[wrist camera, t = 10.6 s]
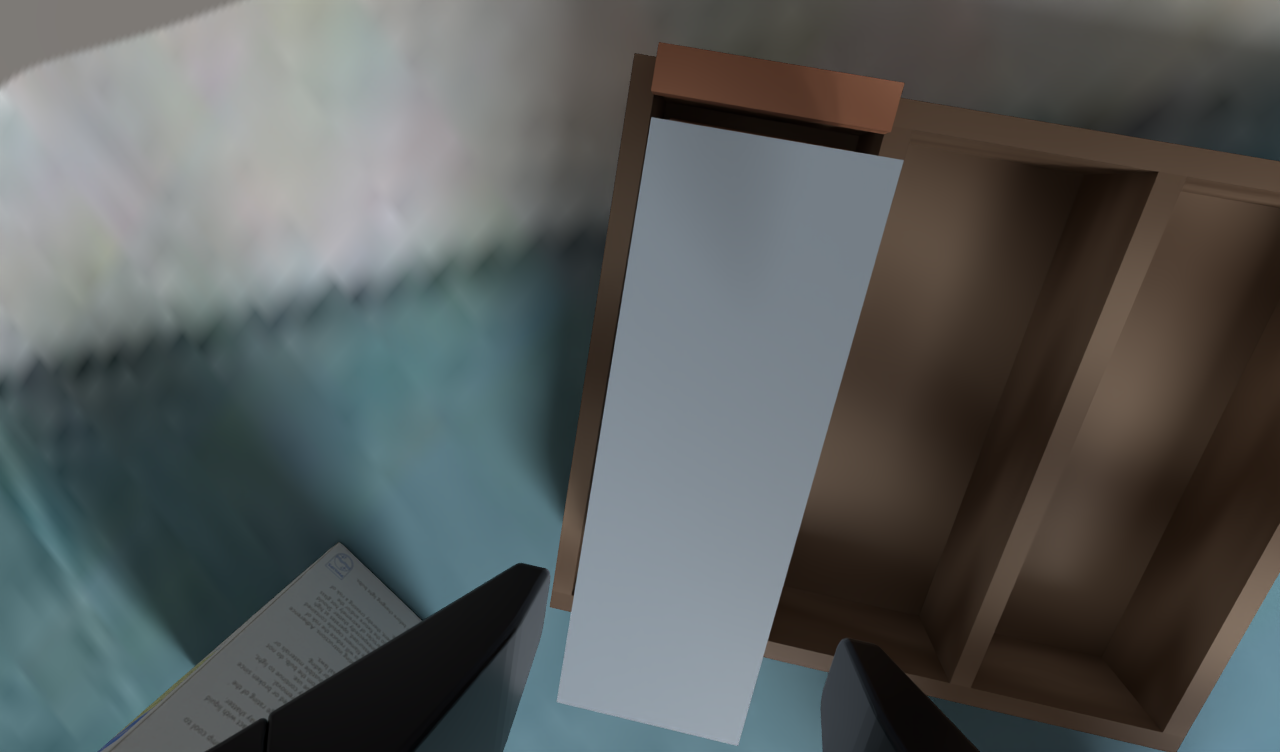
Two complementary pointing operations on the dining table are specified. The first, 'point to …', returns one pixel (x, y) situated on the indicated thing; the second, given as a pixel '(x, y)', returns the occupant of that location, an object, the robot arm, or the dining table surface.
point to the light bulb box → (273, 657)
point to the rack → (1013, 401)
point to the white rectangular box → (716, 416)
